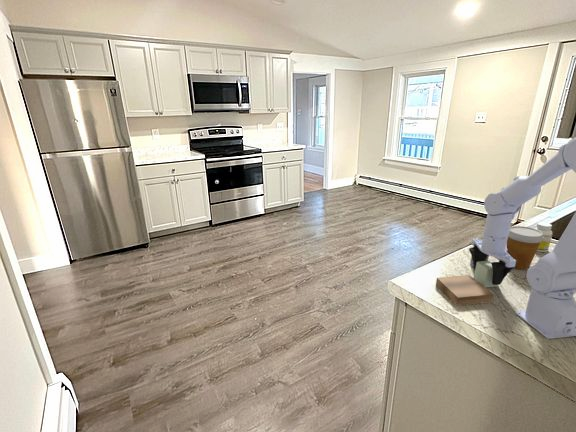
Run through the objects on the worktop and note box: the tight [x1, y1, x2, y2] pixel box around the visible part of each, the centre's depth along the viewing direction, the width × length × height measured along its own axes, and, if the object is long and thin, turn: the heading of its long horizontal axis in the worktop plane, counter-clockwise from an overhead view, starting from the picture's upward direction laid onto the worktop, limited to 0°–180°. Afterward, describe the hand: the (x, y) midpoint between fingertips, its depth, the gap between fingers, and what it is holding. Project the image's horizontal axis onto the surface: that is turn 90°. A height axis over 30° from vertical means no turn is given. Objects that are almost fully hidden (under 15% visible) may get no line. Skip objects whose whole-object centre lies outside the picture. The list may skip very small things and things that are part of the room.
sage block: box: [473, 260, 500, 288], centre depth 89 cm, size 4×4×6 cm
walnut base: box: [435, 274, 495, 306], centre depth 85 cm, size 10×10×2 cm
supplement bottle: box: [534, 221, 553, 253], centre depth 107 cm, size 5×5×10 cm
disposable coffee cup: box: [506, 225, 544, 270], centre depth 97 cm, size 10×10×12 cm
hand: (486, 277), depth 90 cm, fingers open, 7 cm apart
